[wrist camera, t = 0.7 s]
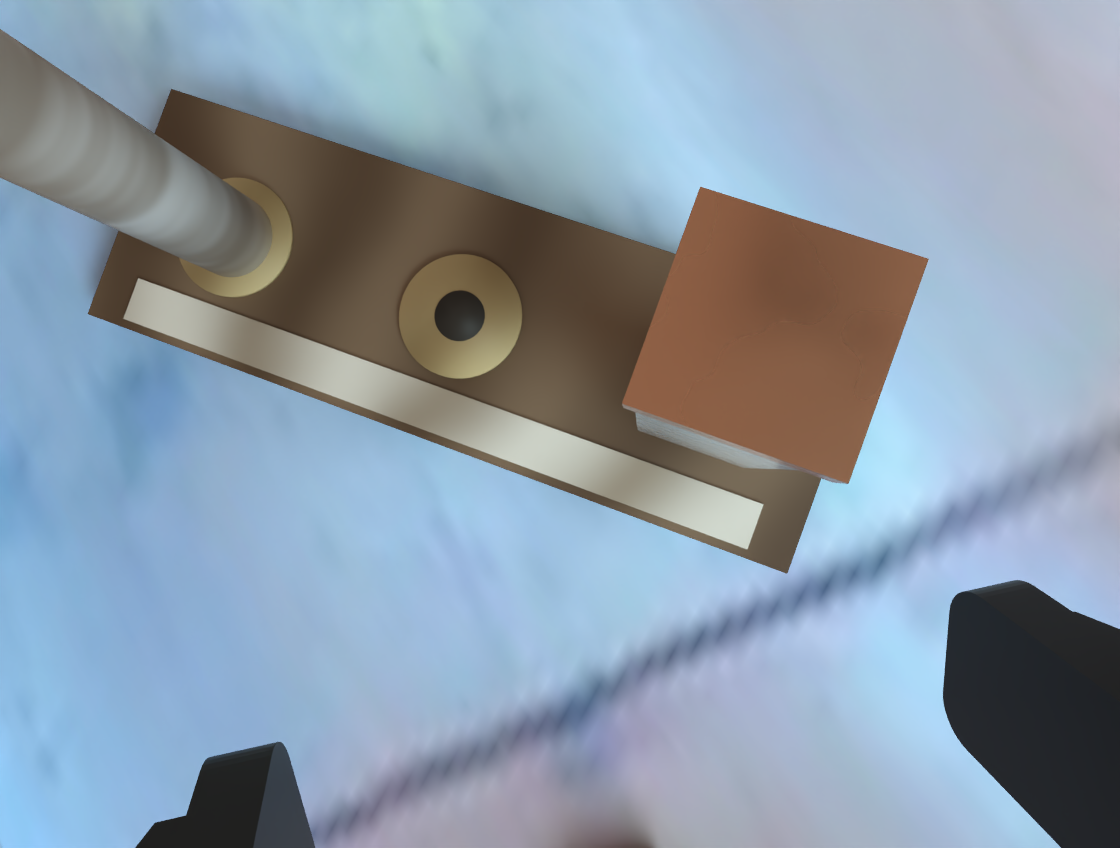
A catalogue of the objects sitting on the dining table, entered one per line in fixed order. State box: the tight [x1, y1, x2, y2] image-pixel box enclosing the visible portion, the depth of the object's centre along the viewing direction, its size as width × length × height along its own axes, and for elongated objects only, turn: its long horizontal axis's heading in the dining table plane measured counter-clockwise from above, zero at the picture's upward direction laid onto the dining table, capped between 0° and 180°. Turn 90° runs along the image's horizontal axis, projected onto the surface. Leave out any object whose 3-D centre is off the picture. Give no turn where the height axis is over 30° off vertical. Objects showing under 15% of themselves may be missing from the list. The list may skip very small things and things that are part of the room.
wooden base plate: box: [0, 29, 821, 573], centre depth 22 cm, size 27×9×14 cm, turn 70°
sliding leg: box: [622, 187, 928, 484], centre depth 19 cm, size 4×4×13 cm
